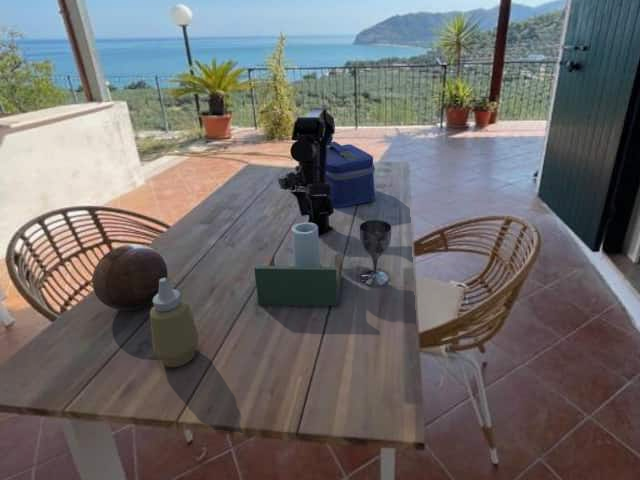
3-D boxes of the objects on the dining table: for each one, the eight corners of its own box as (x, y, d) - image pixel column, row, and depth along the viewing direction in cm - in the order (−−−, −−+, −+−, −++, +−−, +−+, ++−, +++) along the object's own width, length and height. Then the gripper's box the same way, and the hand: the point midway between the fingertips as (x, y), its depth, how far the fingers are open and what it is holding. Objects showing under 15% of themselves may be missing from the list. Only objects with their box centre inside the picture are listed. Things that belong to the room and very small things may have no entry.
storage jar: (307, 261, 111) (304, 220, 106) (324, 269, 107) (323, 226, 102) (289, 271, 106) (286, 228, 101) (307, 280, 102) (304, 236, 97)
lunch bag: (305, 185, 170) (303, 139, 162) (349, 178, 178) (349, 134, 171) (331, 210, 144) (330, 157, 136) (381, 201, 152) (382, 150, 145)
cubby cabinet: (270, 274, 104) (267, 241, 101) (342, 275, 104) (341, 242, 100) (257, 304, 92) (253, 268, 89) (337, 306, 92) (336, 269, 88)
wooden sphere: (185, 289, 98) (175, 236, 93) (143, 328, 85) (127, 269, 79) (134, 282, 101) (121, 230, 96) (85, 319, 87) (66, 262, 82)
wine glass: (368, 289, 98) (369, 236, 92) (354, 274, 104) (354, 224, 99) (395, 281, 101) (397, 229, 96) (380, 266, 108) (381, 217, 102)
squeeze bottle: (166, 343, 80) (149, 268, 74) (206, 340, 81) (192, 266, 75) (150, 374, 73) (129, 294, 66) (194, 371, 74) (177, 291, 67)
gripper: (271, 161, 112) (271, 215, 113) (291, 162, 96) (291, 225, 97) (307, 162, 117) (307, 213, 119) (332, 162, 101) (332, 222, 102)
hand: (308, 218), depth 109 cm, fingers open, 9 cm apart
